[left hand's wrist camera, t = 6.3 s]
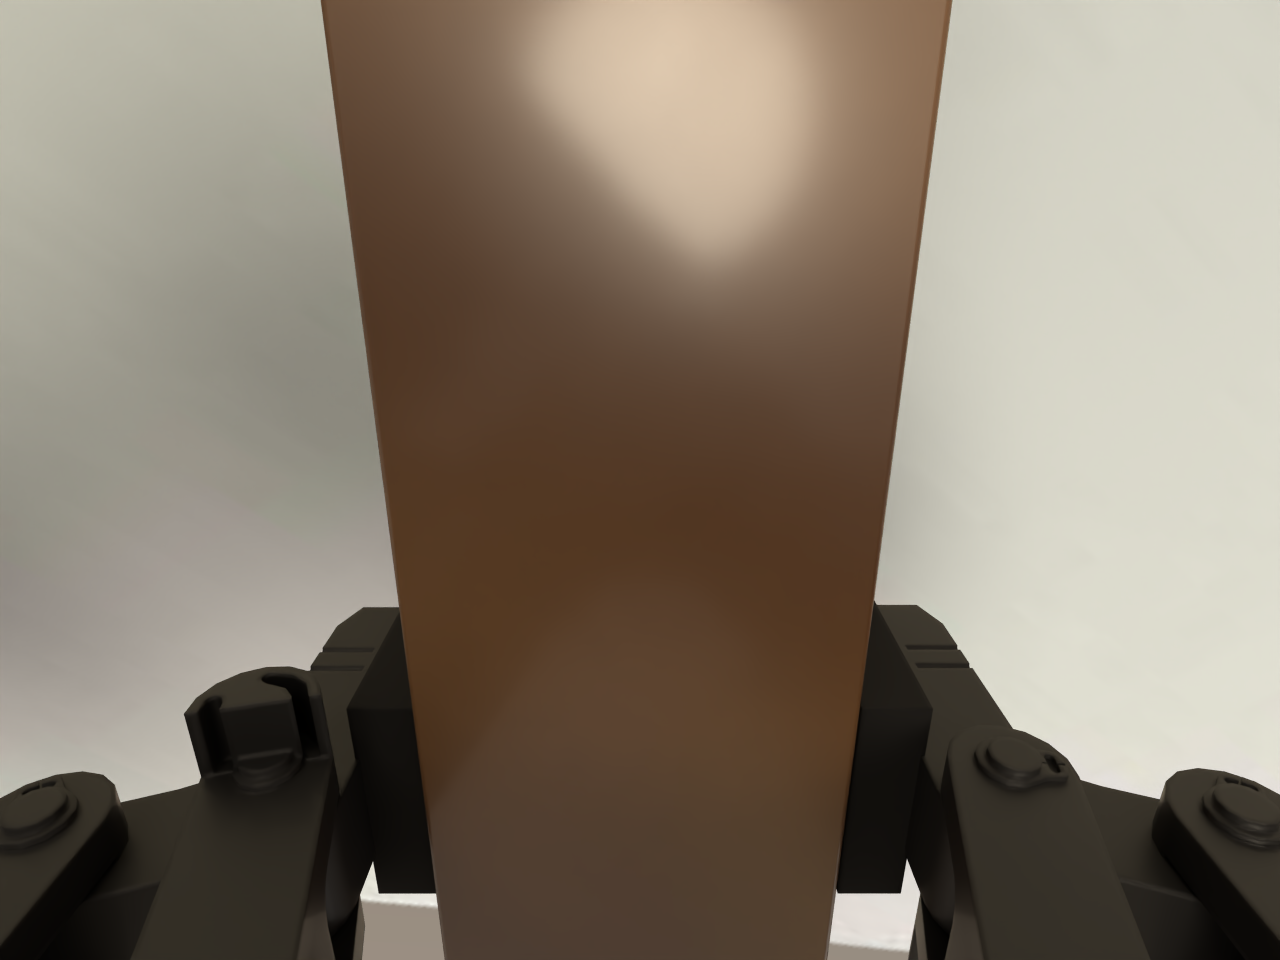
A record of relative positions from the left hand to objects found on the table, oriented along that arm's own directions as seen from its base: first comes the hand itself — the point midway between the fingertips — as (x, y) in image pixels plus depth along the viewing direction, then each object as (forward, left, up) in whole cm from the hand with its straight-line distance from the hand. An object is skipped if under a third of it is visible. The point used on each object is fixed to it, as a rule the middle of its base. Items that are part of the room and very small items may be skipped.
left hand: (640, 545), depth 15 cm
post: (-3, +34, -1) cm, 34 cm away
